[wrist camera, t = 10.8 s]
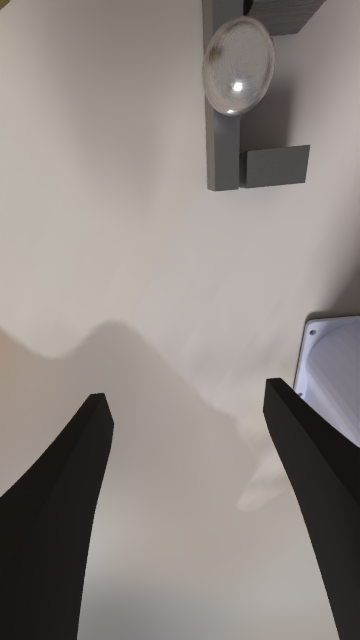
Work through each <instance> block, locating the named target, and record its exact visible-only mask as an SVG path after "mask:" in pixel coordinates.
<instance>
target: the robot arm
mask: <svg viewBox="0 0 360 640" xmlns="http://www.w3.org/2000/svg"><path fill="white" fill-rule="evenodd" d="M311 330H313V332H311V333H310V331H311ZM298 393H299V394H298ZM263 413H264V417H265V420H266V423H267V427H268V430H269V433H270V436H271V438H272V441H273V443H274V445H275V448H276V450H277V452H278V455H279V457H280V459H281V462H282V464H283V466H284V469H285V471H286V473H287V475H288V478H289V480H290V482H291V485H292V487H293V490H294V492H295V495H296V497H297V500H298V503H299V506H300V509H301V512H302V515H303V518H304V521H305V524H306V527H307V530H308V533H309V536H310V539H311V543H312V546H313V549H314V552H315V555H316V559H317V562H318V565H319V569H320V572H321V575H322V579H323V582H324V585H325V589H326V592H327V596H328V599H329V603H330V606H331V610H332V613H333V617H334V620H335V624H336V628H337V631H338V635H339V639H340V640H360V316H349V317H337V318H326V319H315V320H310V321H308V322H307V324H306V326H305V332H304V337H303V342H302V348H301V353H300V358H299V364H298V369H297V374H296V379H295V385H294V390H293V389H292V388H291V387H290V386H289V385H288V384H287V383H286V382H285V381H284V380H283V379H281V378H271V379H266V388H265V397H264V406H263ZM113 428H114V422H113V419H112V415H111V412H110V409H109V406H108V403H107V400H106V397H105V394H104V393H98V394H90V396H89V397H88V398H87V399H86V400H85V402H84V403H83V404H82V406H81V407H80V408H79V410H78V411H77V413H76V414H75V415H74V416H73V418H72V419H71V420H70V422H69V423H68V424H67V425H66V426H65V428H64V429H63V430H62V431H61V433H60V434H59V435H58V436H57V438H56V439H55V440H54V441H53V442H52V444H51V445H50V446H49V447H48V448H47V449H46V450H45V452H44V453H43V454H42V455H41V456H40V458H39V459H38V460H37V461H36V462H35V463H34V464H33V465H32V466H31V467H30V468H29V469H28V470H27V471H26V473H25V474H24V475H23V476H22V477H21V478H20V479H19V480H18V481H17V482H16V483H15V484H14V485H13V486H12V487H11V488H10V489H9V490H8V491H7V492H5V494H3V496H1V497H0V640H77V632H78V624H79V615H80V607H81V600H82V591H83V584H84V576H85V569H86V563H87V556H88V550H89V543H90V537H91V531H92V524H93V519H94V514H95V509H96V505H97V500H98V496H99V493H100V489H101V485H102V481H103V477H104V473H105V469H106V465H107V461H108V457H109V453H110V449H111V443H112V436H113Z"/></svg>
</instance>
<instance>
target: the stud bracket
mask: <svg viewBox="0 0 360 640" xmlns="http://www.w3.org/2000/svg"><path fill="white" fill-rule="evenodd" d="M325 1H326V0H202V7H203V42H204V60H203V67H202V82H203V88H204V91H205V114H206V150H207V185H208V189H209V190H212V191H225V190H235V189H238V187H240V188H255V187H265V186H276V185H286V184H296V183H305V179H306V171H307V164H308V157H309V150H310V145H303V146H293V147H283V148H273V149H263V150H253V151H246V152H243V153H241V154H239V147H240V115H242V114H245V113H247V112H248V111H250V110H251V109H253V108H254V107H255V106H256V105H257V104H258V103H259V102H260V101H261V99H262V98H263V97H264V95H265V93H266V92H267V90H268V87H269V85H270V83H271V80H272V77H273V72H274V66H275V50H274V44H273V41H272V38H271V36H275V35H284V34H293V33H298V32H299V31H300V29H301V28H302V27H303V26H304V25H305V24H306V23H307V21H308V20H309V19H310V18H311V17H312V16H313V15H314V13H315V12H316V11H317V10H318V9H319V8H320V6H321V5H322V4H323V3H324V2H325Z"/></svg>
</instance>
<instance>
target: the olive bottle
mask: <svg viewBox="0 0 360 640" xmlns="http://www.w3.org/2000/svg"><path fill="white" fill-rule="evenodd" d="M9 1H10V0H0V10H1V9H2V8H3V7H4V6H5V5H7V4H8V3H9Z"/></svg>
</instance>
